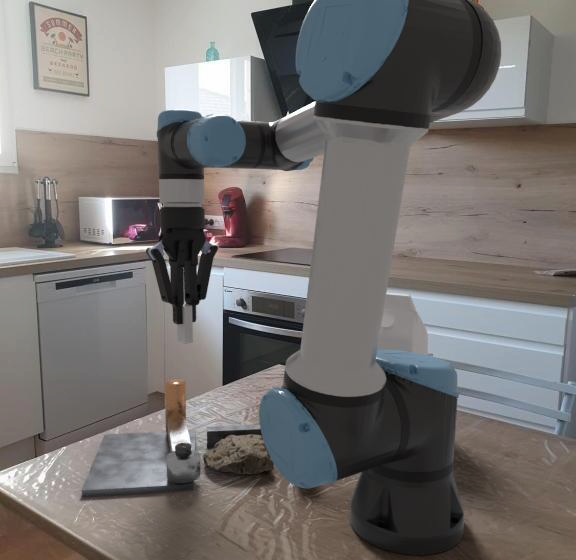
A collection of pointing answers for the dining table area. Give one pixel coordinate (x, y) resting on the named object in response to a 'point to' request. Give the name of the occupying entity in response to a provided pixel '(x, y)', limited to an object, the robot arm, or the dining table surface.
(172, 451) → the lever
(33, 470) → the dining table surface
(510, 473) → the dining table surface
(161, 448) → the cracker base
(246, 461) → the rock
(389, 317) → the milk
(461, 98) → the robot arm
